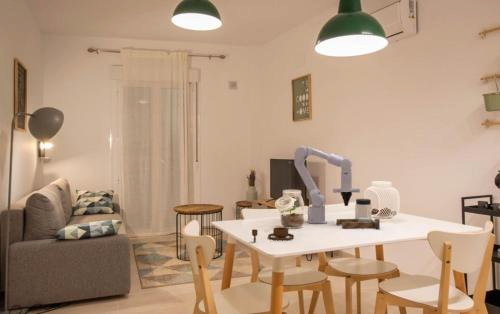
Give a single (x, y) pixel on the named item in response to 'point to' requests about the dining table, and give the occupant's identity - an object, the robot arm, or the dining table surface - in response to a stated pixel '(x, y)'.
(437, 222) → the dining table surface
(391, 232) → the dining table surface
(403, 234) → the dining table surface
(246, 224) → the dining table surface
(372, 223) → the wooden tray
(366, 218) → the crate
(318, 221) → the robot arm
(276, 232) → the place setting
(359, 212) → the jar
